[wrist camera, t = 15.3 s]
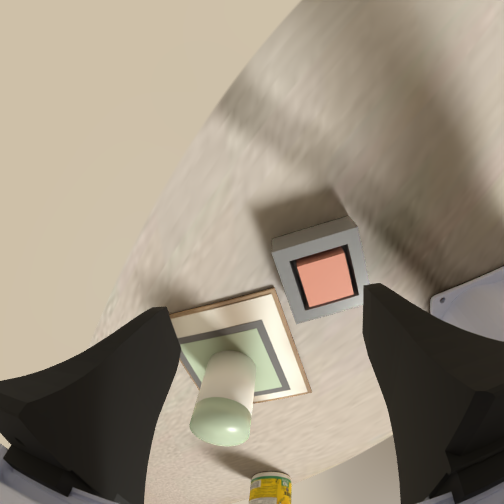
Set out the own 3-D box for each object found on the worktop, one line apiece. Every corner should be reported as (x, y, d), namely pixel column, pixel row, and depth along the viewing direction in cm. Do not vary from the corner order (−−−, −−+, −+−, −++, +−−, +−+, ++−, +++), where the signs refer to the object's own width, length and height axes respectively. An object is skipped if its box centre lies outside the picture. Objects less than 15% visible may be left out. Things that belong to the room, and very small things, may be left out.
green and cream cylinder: (247, 346, 22) (237, 411, 16) (262, 381, 24) (257, 444, 17) (200, 354, 23) (179, 415, 17) (218, 387, 24) (204, 447, 18)
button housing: (348, 215, 18) (357, 226, 16) (364, 284, 20) (373, 301, 18) (272, 238, 19) (271, 252, 17) (294, 304, 21) (296, 324, 19)
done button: (340, 245, 17) (344, 252, 16) (349, 285, 18) (353, 294, 17) (295, 258, 18) (296, 266, 17) (308, 297, 19) (309, 307, 18)
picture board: (274, 287, 21) (274, 289, 20) (311, 390, 24) (311, 393, 24) (156, 317, 22) (154, 319, 22) (212, 407, 26) (211, 410, 26)
